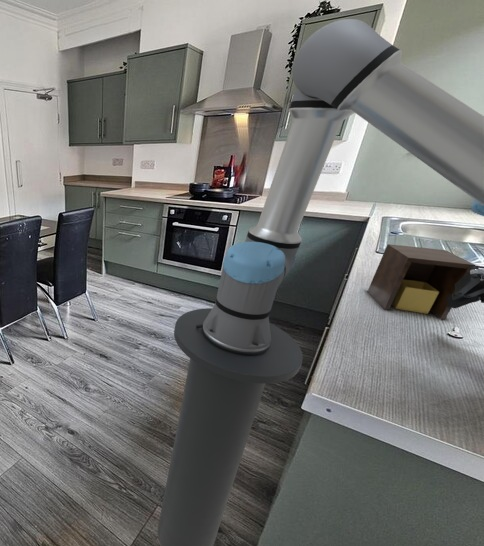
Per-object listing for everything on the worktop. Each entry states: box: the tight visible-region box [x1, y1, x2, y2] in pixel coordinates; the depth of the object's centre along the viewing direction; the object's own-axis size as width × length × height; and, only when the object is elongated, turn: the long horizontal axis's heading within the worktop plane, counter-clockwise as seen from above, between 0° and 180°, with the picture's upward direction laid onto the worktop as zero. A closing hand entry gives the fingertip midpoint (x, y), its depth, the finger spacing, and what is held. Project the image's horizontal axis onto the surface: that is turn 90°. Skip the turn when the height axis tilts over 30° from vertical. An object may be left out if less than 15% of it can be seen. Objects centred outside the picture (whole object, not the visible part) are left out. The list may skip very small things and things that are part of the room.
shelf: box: [367, 243, 476, 320], centre depth 90 cm, size 13×13×16 cm
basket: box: [391, 279, 439, 315], centre depth 91 cm, size 7×7×7 cm
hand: (451, 302), depth 75 cm, fingers closed
